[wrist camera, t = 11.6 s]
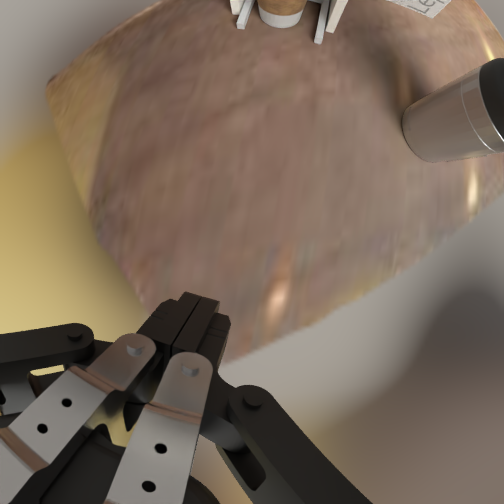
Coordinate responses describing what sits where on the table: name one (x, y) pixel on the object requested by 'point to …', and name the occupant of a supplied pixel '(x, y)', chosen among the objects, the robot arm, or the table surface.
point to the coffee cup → (281, 12)
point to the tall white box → (423, 6)
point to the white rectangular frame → (244, 3)
